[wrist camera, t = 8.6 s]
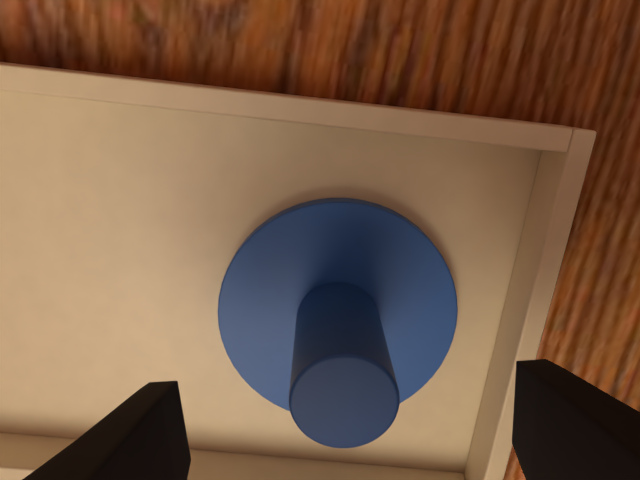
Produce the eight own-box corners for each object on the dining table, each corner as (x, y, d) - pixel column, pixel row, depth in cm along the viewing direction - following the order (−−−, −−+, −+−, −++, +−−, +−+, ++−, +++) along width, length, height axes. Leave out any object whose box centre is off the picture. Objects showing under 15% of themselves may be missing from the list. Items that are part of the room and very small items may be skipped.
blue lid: (451, 402, 16) (501, 522, 12) (235, 414, 16) (204, 538, 12) (454, 188, 14) (517, 237, 9) (206, 205, 14) (154, 260, 10)
